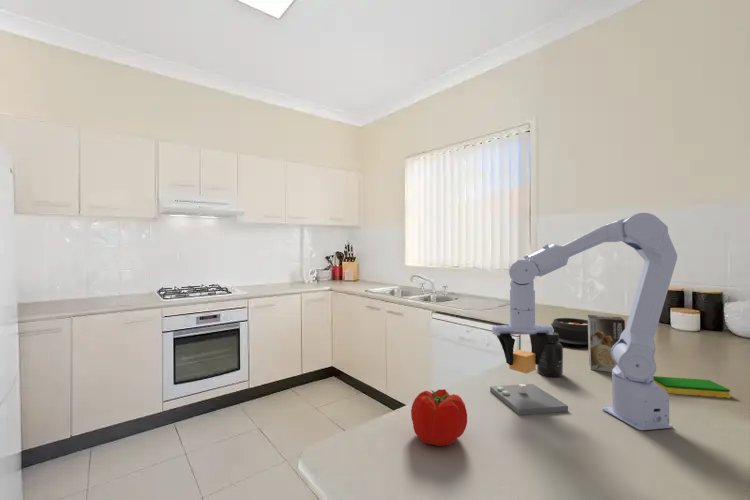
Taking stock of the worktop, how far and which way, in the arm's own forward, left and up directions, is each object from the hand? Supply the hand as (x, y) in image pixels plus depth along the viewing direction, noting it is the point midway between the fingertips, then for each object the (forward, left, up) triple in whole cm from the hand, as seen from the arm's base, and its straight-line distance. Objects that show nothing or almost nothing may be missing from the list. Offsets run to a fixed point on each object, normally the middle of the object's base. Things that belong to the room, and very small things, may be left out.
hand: (522, 363), depth 83 cm
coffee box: (+16, -38, -9) cm, 42 cm away
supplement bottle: (+15, -18, -9) cm, 25 cm away
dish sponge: (-2, -46, -9) cm, 47 cm away
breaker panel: (-2, 0, -8) cm, 9 cm away
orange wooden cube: (0, 0, -1) cm, 1 cm away
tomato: (-15, +27, -9) cm, 32 cm away
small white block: (0, 0, -7) cm, 7 cm away
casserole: (+46, -52, -9) cm, 70 cm away
